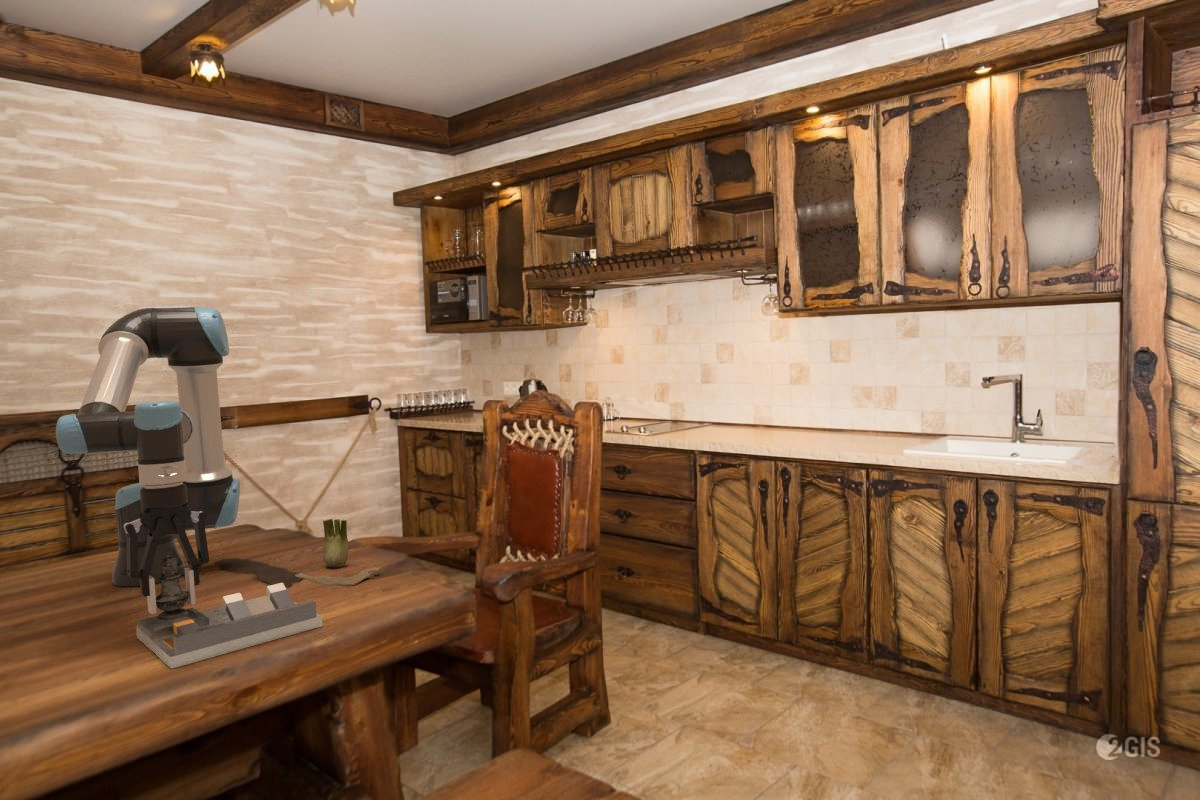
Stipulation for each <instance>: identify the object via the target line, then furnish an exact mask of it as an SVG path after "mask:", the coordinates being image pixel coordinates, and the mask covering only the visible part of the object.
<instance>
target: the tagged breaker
mask: <svg viewBox="0 0 1200 800" xmlns="http://www.w3.org/2000/svg"><path fill="white" fill-rule="evenodd" d="M173 626H174V632H175V633H176V634H177V635H178V634H182V633H186V632H190V631H194V630H198V629H201V627H200V626H199V625H198V624H197V623H195V622H194V621H193V620H192V619H190V620H186V621H182V622H178V623H174V624H173Z"/></svg>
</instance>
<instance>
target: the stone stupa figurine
mask: <svg viewBox="0 0 1200 800" xmlns="http://www.w3.org/2000/svg"><path fill="white" fill-rule="evenodd" d="M160 567H161V576H160V577H159V579H161V582H160V584H161V590H160V593H159V594H158V595H156V608H157V609H158V610H160V611H161V612H160V613H159V614H157V615H156V616H157V619H160V620H168V619H175V618H179V617H182V616H185V615H187V614H188V613H189V611H188V610H186V609H187V608H183V607H185V605H186V604H187V599H188V595H189V592H187V591H186V590H183V589H182V587H181V581H180V577H181V576H182V575H181V574H180V573H178V560H177V558H176V557H174V556H171V555H170V552H167V556H166V557H164V558H163V559H162V560H161V561H160ZM180 575H181V576H180Z"/></svg>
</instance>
